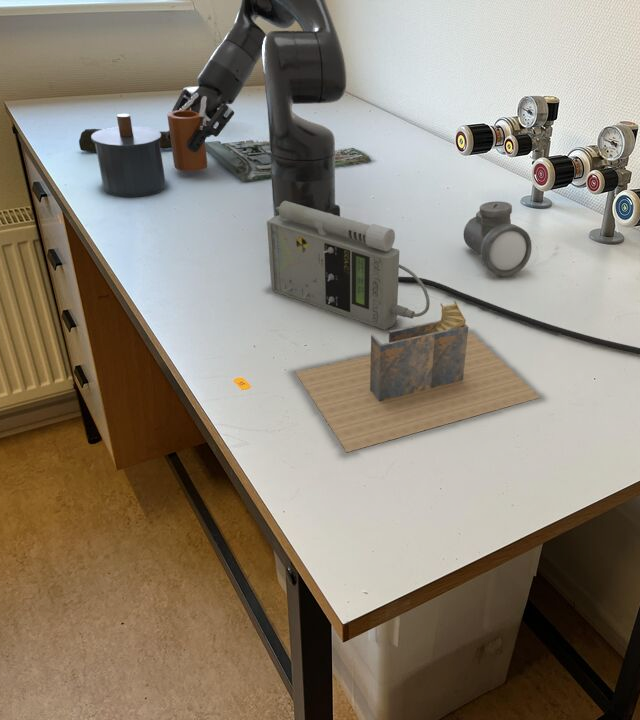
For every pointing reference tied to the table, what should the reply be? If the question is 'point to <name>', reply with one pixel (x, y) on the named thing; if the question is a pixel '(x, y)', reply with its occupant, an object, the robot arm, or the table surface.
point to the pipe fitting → (498, 239)
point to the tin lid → (126, 135)
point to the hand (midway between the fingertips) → (180, 144)
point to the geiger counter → (337, 264)
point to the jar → (185, 140)
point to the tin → (131, 170)
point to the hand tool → (85, 136)
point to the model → (264, 158)
